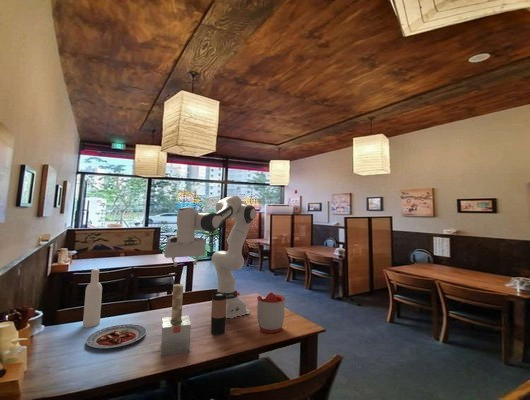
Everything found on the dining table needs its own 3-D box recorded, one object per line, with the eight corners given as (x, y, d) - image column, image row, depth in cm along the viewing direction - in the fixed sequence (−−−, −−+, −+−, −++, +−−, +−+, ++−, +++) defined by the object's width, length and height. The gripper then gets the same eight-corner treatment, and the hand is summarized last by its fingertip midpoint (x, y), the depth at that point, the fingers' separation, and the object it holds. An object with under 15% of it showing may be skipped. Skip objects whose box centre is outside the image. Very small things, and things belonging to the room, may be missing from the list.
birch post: (180, 326, 124) (182, 283, 125) (181, 330, 120) (183, 286, 121) (170, 327, 122) (173, 284, 124) (171, 331, 118) (173, 286, 120)
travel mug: (212, 336, 133) (214, 296, 134) (208, 330, 139) (210, 292, 141) (227, 334, 136) (228, 295, 138) (222, 328, 143) (223, 291, 144)
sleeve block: (187, 340, 128) (188, 315, 129) (189, 352, 116) (191, 324, 117) (161, 343, 124) (162, 317, 125) (160, 356, 112) (162, 328, 113)
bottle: (80, 328, 138) (85, 271, 140) (84, 323, 145) (88, 268, 148) (98, 326, 141) (102, 270, 144) (101, 321, 148) (104, 267, 151)
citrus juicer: (271, 320, 156) (272, 286, 157) (290, 331, 142) (291, 293, 143) (249, 326, 147) (250, 290, 148) (267, 338, 133) (268, 298, 134)
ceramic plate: (113, 357, 111) (113, 350, 111) (72, 345, 120) (73, 339, 120) (157, 333, 135) (157, 327, 135) (120, 325, 144) (121, 319, 144)
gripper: (205, 236, 140) (204, 262, 139) (164, 238, 132) (164, 265, 132) (207, 238, 134) (206, 265, 133) (164, 239, 126) (164, 268, 126)
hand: (185, 265), depth 132 cm, fingers open, 8 cm apart
